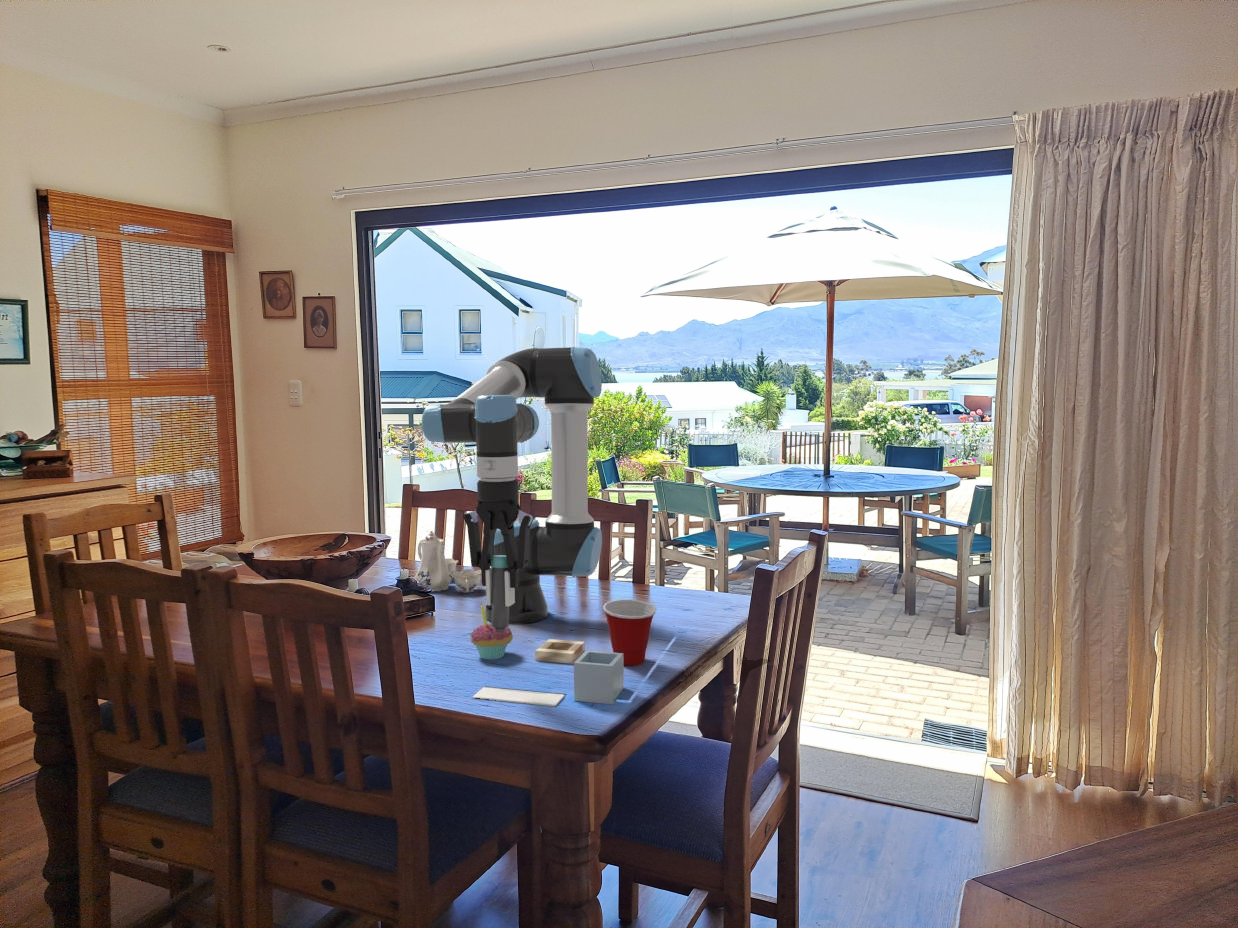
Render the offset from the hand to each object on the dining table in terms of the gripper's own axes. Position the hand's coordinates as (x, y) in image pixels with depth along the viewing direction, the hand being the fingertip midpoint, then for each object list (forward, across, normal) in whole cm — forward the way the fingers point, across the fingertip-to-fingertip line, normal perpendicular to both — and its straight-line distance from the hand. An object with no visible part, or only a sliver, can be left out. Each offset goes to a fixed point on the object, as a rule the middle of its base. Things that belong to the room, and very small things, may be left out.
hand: (500, 603), depth 160 cm
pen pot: (+16, +19, 0) cm, 25 cm away
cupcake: (+16, -9, +15) cm, 24 cm away
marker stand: (+16, +5, +18) cm, 25 cm away
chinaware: (+16, -48, +68) cm, 85 cm away
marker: (+5, 0, -1) cm, 5 cm away
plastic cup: (+16, +20, +18) cm, 32 cm away
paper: (+16, +5, 0) cm, 17 cm away
